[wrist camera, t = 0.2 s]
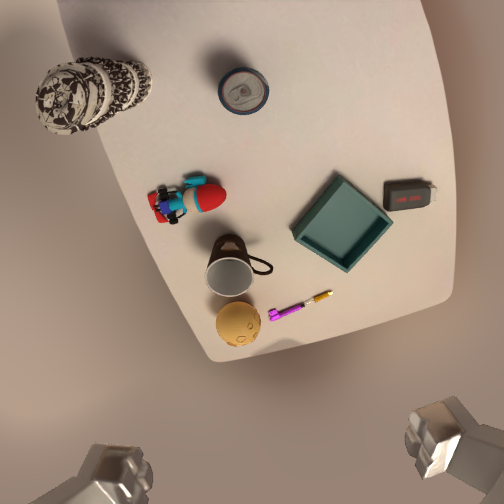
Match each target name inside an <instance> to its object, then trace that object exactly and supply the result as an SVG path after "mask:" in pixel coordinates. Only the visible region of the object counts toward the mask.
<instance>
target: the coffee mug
mask: <svg viewBox="0 0 504 504" xmlns="http://www.w3.org/2000/svg"><path fill="white" fill-rule="evenodd" d="M249 258H250V259H253V260H256V261H259V262H261V263H264V264H266V265H267V266H269V267H270V270H269V271H266V272H260V271H257V270H255V269H254V268H253V267H252V266H251V263H250V260H249ZM272 272H273V266H272V265H271V264H270V263H268V262H266V261H264V260H262V259H259V258H256V257H253V256H250V255H249V254H248V253H247V250H246V246H245V243H244V241H243V240H242V239H241V238H240V237H238V236H236V235H233V234H226V235H223V236H221V237H219V238H218V239H217V240H216V242H215V244H214V247H213V250H212V253H211V257H210V260H209V263H208V266H207V270H206V273H205V281H206V284H207V286H208V287H209V288H210V289H211V290H212V291H213V292H214V293H216V294H218V295H221V296H226V297H234V296H238V295H241V294H243V293H245V292H246V291H247V290H249V289H250V287H251V286H252V284H253V281H254V273H255V274H258V275H268V274H271V273H272Z"/></svg>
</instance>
